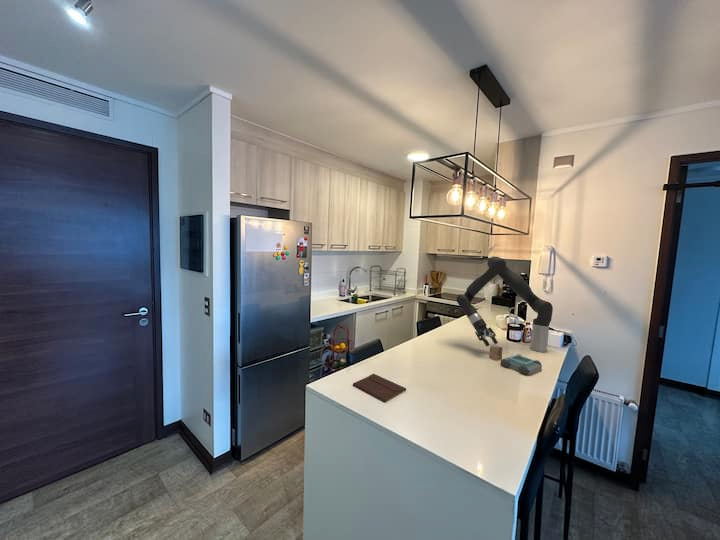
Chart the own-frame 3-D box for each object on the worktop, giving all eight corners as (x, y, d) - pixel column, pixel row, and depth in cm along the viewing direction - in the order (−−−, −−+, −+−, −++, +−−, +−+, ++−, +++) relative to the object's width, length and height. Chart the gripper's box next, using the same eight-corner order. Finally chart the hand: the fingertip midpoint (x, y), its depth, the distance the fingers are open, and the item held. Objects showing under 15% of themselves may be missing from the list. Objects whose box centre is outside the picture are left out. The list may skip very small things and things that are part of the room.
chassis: (513, 359, 174) (514, 351, 174) (542, 370, 161) (543, 361, 160) (499, 365, 165) (499, 356, 165) (528, 376, 152) (529, 367, 152)
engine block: (493, 356, 179) (494, 343, 178) (501, 359, 175) (502, 346, 174) (489, 357, 176) (490, 344, 175) (497, 360, 172) (498, 347, 171)
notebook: (385, 403, 122) (385, 399, 122) (352, 386, 136) (352, 382, 136) (406, 391, 133) (406, 387, 133) (373, 376, 147) (374, 373, 147)
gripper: (474, 319, 179) (490, 343, 170) (488, 317, 187) (503, 339, 178) (466, 326, 184) (481, 349, 175) (480, 323, 192) (494, 345, 183)
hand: (492, 344), depth 177 cm, fingers open, 8 cm apart
